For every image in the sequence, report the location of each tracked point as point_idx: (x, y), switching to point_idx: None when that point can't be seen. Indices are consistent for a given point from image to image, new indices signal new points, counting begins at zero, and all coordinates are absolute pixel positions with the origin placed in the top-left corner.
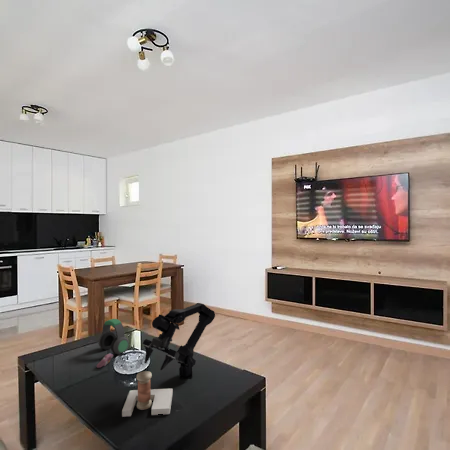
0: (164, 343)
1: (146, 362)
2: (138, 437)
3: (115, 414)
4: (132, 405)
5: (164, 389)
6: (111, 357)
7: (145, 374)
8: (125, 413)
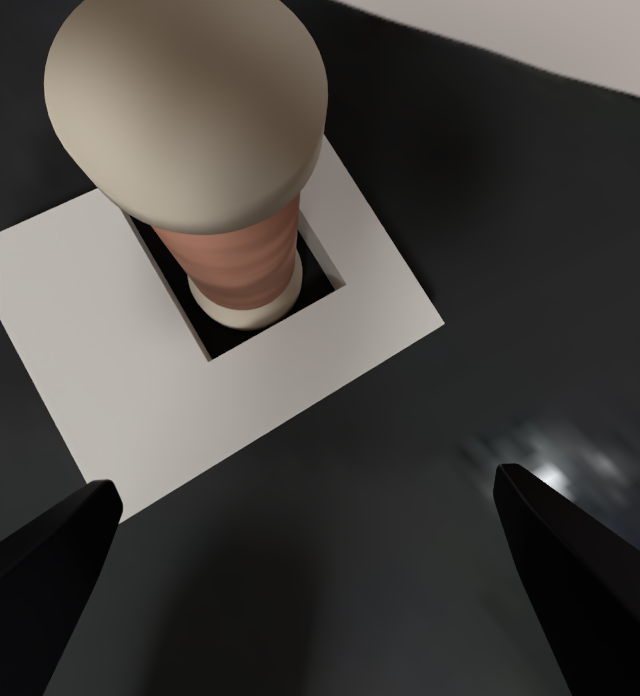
0: None
1: (499, 507)
2: None
3: (353, 131)
4: None
5: (177, 473)
6: None
7: (175, 98)
8: None
